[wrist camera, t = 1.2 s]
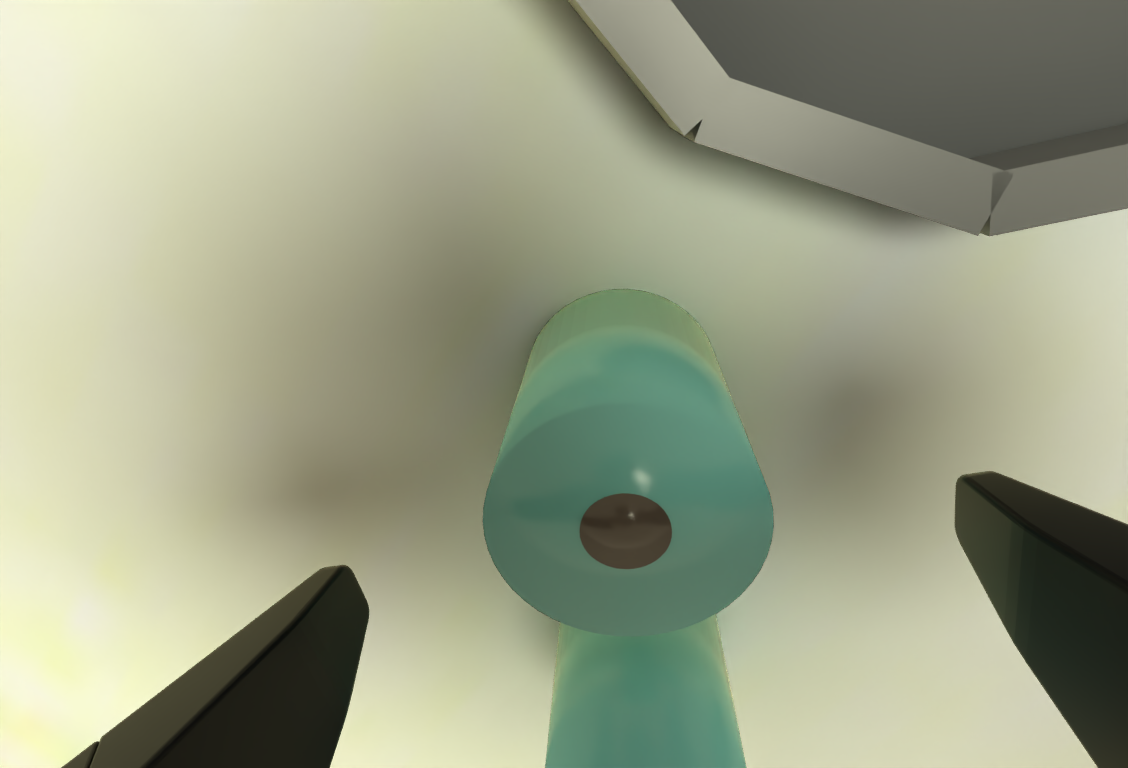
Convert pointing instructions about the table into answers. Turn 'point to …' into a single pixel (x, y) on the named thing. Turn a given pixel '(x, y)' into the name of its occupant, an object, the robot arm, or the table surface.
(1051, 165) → the tray
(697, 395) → the bead
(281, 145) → the table surface
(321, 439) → the table surface
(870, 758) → the table surface
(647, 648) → the bead
